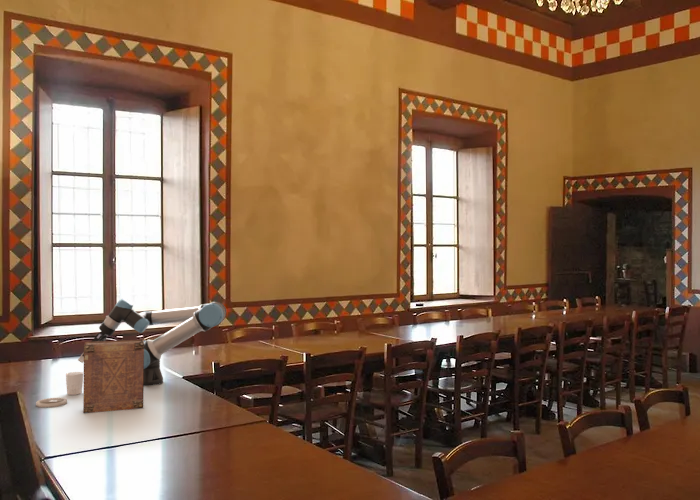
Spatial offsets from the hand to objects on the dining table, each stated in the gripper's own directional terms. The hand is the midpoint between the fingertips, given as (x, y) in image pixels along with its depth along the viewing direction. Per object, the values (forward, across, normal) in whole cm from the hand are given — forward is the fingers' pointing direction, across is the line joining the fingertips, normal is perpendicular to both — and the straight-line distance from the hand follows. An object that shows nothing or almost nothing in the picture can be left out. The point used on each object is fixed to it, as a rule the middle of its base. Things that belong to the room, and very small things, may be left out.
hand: (84, 359), depth 326 cm
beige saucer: (+14, +33, +6) cm, 36 cm away
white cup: (+13, +11, +8) cm, 19 cm away
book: (-4, +42, +31) cm, 52 cm away
